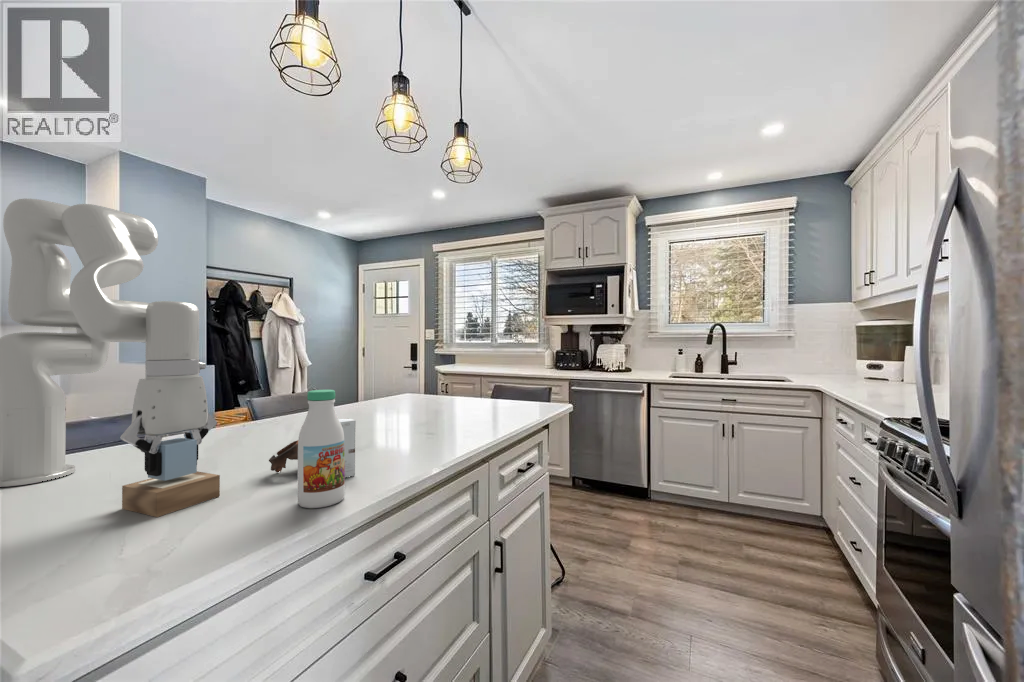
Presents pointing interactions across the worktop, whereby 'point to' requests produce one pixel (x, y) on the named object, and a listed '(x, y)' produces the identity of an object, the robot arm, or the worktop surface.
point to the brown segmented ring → (284, 456)
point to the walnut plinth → (169, 493)
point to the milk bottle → (321, 453)
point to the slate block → (177, 458)
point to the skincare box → (349, 445)
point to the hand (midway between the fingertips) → (172, 469)
